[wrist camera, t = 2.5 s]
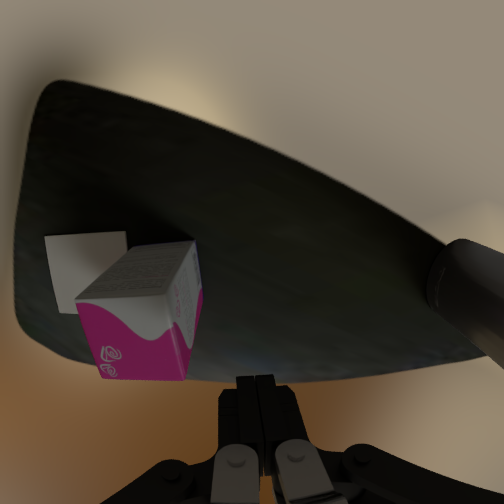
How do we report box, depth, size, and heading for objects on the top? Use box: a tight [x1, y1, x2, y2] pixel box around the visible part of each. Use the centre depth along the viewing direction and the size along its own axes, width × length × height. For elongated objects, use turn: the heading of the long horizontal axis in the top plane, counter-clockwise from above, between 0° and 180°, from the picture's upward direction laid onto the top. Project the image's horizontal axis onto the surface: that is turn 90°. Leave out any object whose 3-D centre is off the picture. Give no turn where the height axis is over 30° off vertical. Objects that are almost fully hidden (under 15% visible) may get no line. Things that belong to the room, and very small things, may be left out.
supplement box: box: [74, 240, 203, 381], centre depth 20 cm, size 6×6×12 cm
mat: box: [45, 231, 128, 314], centre depth 25 cm, size 9×8×1 cm
